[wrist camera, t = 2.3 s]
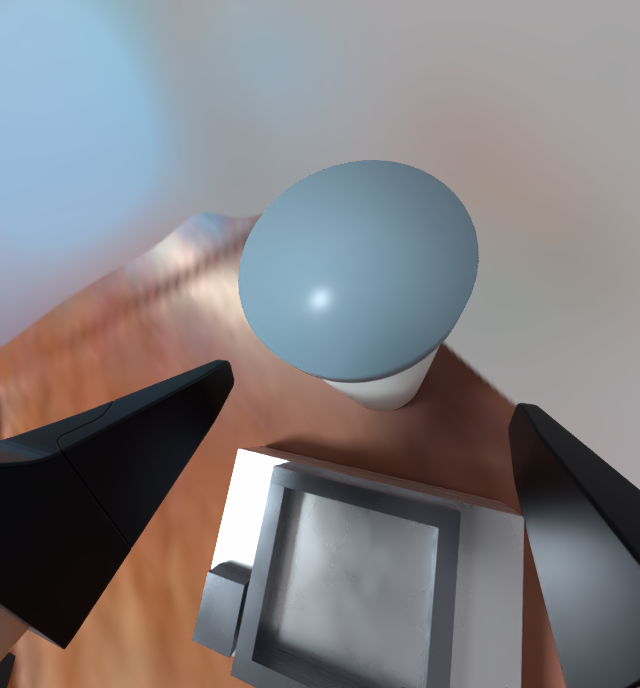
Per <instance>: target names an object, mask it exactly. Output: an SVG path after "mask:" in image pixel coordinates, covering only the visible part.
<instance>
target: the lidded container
mask: <svg viewBox="0 0 640 688" xmlns="http://www.w3.org/2000/svg"><path fill="white" fill-rule="evenodd" d="M478 262H479V261H478V243H477V237H476V232H475V228H474V226H473V223H472V220H471V218H470V216H469V214H468V212H467V210H466V208H465V207H464V205H463V204H462V202H461V201H460V200H459V199H458V197H457V196H456V195H455V194H454V193H453V192H452V191H451V190H450V189H449V188H448V187H447V186H446V185H445V184H443V183H442V182H441V181H439V180H438V179H436V178H435V177H433V176H432V175H430V174H428V173H426V172H424V171H422V170H420V169H417V168H414V167H411V166H408V165H405V164H401V163H396V162H390V161H380V160H373V161H372V160H367V161H366V160H364V161H356V162H348V163H344V164H340V165H335V166H332V167H330V168H327V169H323V170H321V171H319V172H316V173H314V174H312V175H310V176H308V177H306V178H305V179H303V180H301V181H299V182H297V183H296V184H294V185H293V186H292V187H290V188H289V189H287V190H286V191H285V192H284V193H282V194H281V195H280V196H279V197H278V198H277V199H276V200H275V201H274V202H273V203H272V204H271V205H270V206H269V207H268V208H267V209H266V211H265V212H264V213H263V214H262V216H261V217H260V218H259V219H258V221H257V223H256V224H255V226H254V228H253V229H252V231H251V233H250V235H249V237H248V239H247V242H246V244H245V247H244V250H243V253H242V257H241V262H240V267H239V278H238V283H239V295H240V300H241V305H242V308H243V311H244V314H245V317H246V319H247V321H248V323H249V325H250V326H251V328H252V330H253V331H254V333H255V334H256V336H257V337H258V338H259V340H260V341H261V342H262V343H263V344H264V345H265V346H266V347H267V348H268V349H269V350H270V351H271V352H273V353H274V354H276V355H277V356H278V357H280V358H281V359H282V360H284V361H286V362H287V363H289V364H291V365H292V366H294V367H296V368H297V369H299V370H301V371H303V372H305V373H307V374H309V375H312V376H315V377H317V378H320V379H322V380H323V381H325V382H326V383H328V384H329V385H331V386H333V387H334V388H336V389H337V390H339V391H340V392H342V393H343V394H345V395H346V396H348V397H349V398H351V399H352V400H354V401H355V402H357V403H359V404H360V405H362V406H364V407H365V408H368V409H371V410H375V411H391V410H395V409H398V408H400V407H402V406H404V405H406V404H407V403H408V402H409V401H411V400H412V399H413V397H414V396H415V395H416V393H417V392H418V390H419V388H420V386H421V384H422V382H423V380H424V378H425V375H426V373H427V371H428V369H429V367H430V365H431V363H432V361H433V359H434V357H435V355H436V353H437V351H438V348H439V346H440V344H441V343H442V342H443V341H444V340H445V339H446V338H447V336H448V335H449V333H450V332H451V330H452V329H453V327H454V326H455V324H456V322H457V321H458V319H459V317H460V315H461V313H462V311H463V309H464V307H465V305H466V303H467V301H468V299H469V297H470V295H471V293H472V290H473V286H474V283H475V279H476V275H477V269H478Z"/></svg>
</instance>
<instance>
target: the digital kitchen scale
mask: <svg viewBox="0 0 640 688" xmlns="http://www.w3.org/2000/svg"><path fill="white" fill-rule="evenodd" d="M523 556H524V519H523V516H522V515H521V514H519V513H518V512H516V511H515V510H513V509H512V508H511V507H509V506H508V505H506V504H505V503H503V502H502V501H498V500H494V499H489V498H485V497H481V496H476V495H472V494H468V493H463V492H459V491H455V490H450V489H446V488H442V487H437V486H433V485H428V484H424V483H420V482H415V481H411V480H407V479H402V478H398V477H394V476H389V475H385V474H381V473H376V472H372V471H367V470H363V469H359V468H354V467H350V466H346V465H341V464H337V463H333V462H328V461H324V460H320V459H315V458H311V457H306V456H302V455H298V454H293V453H289V452H285V451H280V450H276V449H272V448H267V447H263V446H259V447H251V448H243V449H239V450H238V454H237V459H236V463H235V467H234V472H233V476H232V480H231V485H230V489H229V493H228V498H227V502H226V506H225V511H224V515H223V519H222V524H221V528H220V532H219V537H218V541H217V545H216V550H215V554H214V558H213V563H212V567H211V570H210V571H208V574H207V578H206V582H205V587H204V591H203V595H202V600H201V604H200V608H199V613H198V617H197V621H196V625H195V630H194V634H193V638H192V640H193V641H195V642H197V643H199V644H201V645H203V646H205V647H208V648H210V649H212V650H214V651H216V652H218V653H220V654H222V655H225V656H227V657H229V658H230V656H231V655H232V656H234V661H233V666H232V671H231V675H232V676H234V677H236V678H238V679H240V680H242V681H244V682H246V683H248V684H250V685H252V686H254V687H256V688H521V662H522V609H523Z"/></svg>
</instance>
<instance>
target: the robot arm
mask: <svg viewBox="0 0 640 688" xmlns="http://www.w3.org/2000/svg"><path fill="white" fill-rule="evenodd" d="M233 385H234V377H233V373H232V368H231V365H230V363H229V361H226V360H215V361H212V362H210V363H207V364H205V365H202V366H200V367H197V368H195V369H192V370H190V371H187V372H185V373H182V374H180V375H177V376H174V377H172V378H169V379H167V380H164V381H162V382H159V383H157V384H154V385H152V386H149V387H147V388H144V389H142V390H139V391H136V392H134V393H131V394H129V395H126V396H124V397H121V398H119V399H116V400H115V401H111V402H108V403H106V404H103V405H101V406H98V407H96V408H93V409H90V410H88V411H85V412H83V413H80V414H77V415H74V416H71V417H69V418H66V419H63V420H60V421H57V422H54V423H51V424H48V425H46V426H43V427H40V428H37V429H34V430H31V431H28V432H25V433H22V434H19V435H17V436H14V437H10V438H7V439H4V440H0V688H7V686H8V682H9V679H10V675H11V671H12V667H13V664H14V660H15V655H13V654H11V653H10V652H9V651H10V650H11V649H12V647H13V646H14V645H15V644H16V643H17V642H18V640H19V639H20V638H21V637H22V636H23V635H24V633H25V632H26V631H27V630H30V631H32V632H34V633H35V634H37V635H39V636H41V637H43V638H44V639H46V640H48V641H50V642H51V643H53V644H55V645H57V646H58V647H60V648H62V649H65V648H66V647H67V646H68V644H69V643H70V642H71V640H72V639H73V637H74V636H75V634H76V633H77V631H78V630H79V628H80V627H81V625H82V624H83V622H84V621H85V619H86V618H87V616H88V615H89V613H90V612H91V610H92V608H93V607H94V605H95V604H96V602H97V601H98V599H99V598H100V596H101V595H102V593H103V592H104V590H105V589H106V587H107V586H108V584H109V582H110V581H111V579H112V578H113V576H114V575H115V573H116V572H117V570H118V569H119V567H120V566H121V564H122V563H123V561H124V560H125V558H126V557H127V555H128V553H129V552H130V550H131V547H133V546H134V544H135V542H136V541H137V539H138V538H139V536H140V535H141V533H142V532H143V530H144V529H145V527H146V526H147V524H148V523H149V521H150V520H151V518H152V517H153V515H154V513H155V512H156V510H157V509H158V507H159V506H160V504H161V503H162V501H163V500H164V498H165V497H166V495H167V494H168V492H169V491H170V489H171V488H172V486H173V485H174V483H175V481H176V480H177V478H178V477H179V475H180V474H181V472H182V471H183V469H184V468H185V466H186V465H187V463H188V462H189V460H190V459H191V457H192V456H193V454H194V452H195V451H196V449H197V448H198V446H199V445H200V443H201V442H202V440H203V439H204V437H205V436H206V434H207V433H208V431H209V430H210V428H211V426H212V425H213V423H214V422H215V420H216V418H217V416H218V414H219V413H220V411H221V409H222V407H223V405H224V403H225V401H226V399H227V397H228V395H229V393H230V391H231V389H232V387H233ZM509 440H510V448H511V456H512V465H513V473H514V480H515V486H516V491H517V495H518V499H519V503H520V507H521V511H522V515H523V519H524V523H525V527H526V531H527V535H528V538H529V542H530V546H531V550H532V554H533V558H534V562H535V566H536V570H537V574H538V578H539V582H540V586H541V590H542V594H543V598H544V601H545V605H546V609H547V613H548V617H549V621H550V625H551V629H552V633H553V637H554V641H555V645H556V649H557V653H558V657H559V661H560V664H561V668H562V672H563V676H564V680H565V684H566V688H640V490H639V489H638V488H637V487H636V486H634V485H633V484H632V483H631V482H629V481H628V480H627V479H626V478H624V477H623V476H622V475H621V474H620V473H618V472H617V471H616V470H615V469H614V468H612V467H611V466H610V465H609V464H608V463H606V462H605V461H604V460H603V459H601V458H600V457H599V456H598V455H597V454H595V453H594V452H593V451H592V450H591V449H589V448H588V447H587V446H586V445H584V444H583V443H582V442H581V441H579V440H578V439H577V438H576V437H575V436H574V435H572V434H571V433H570V432H569V431H567V430H566V429H565V428H564V427H562V426H561V425H560V424H559V423H558V422H556V421H555V420H554V419H553V418H552V417H550V416H549V415H548V414H547V413H546V412H544V411H543V410H542V409H541V408H539V407H538V406H536V405H533V404H526V403H519V404H518V405H517V406H516V408H515V411H514V413H513V416H512V419H511V422H510V424H509Z"/></svg>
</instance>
